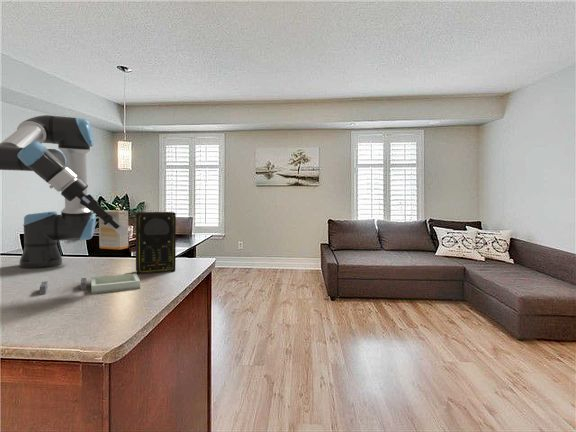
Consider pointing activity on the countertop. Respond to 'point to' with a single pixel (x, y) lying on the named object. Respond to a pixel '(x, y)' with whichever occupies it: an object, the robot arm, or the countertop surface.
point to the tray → (114, 283)
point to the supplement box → (113, 231)
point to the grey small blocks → (45, 286)
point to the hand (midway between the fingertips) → (124, 232)
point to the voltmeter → (155, 242)
